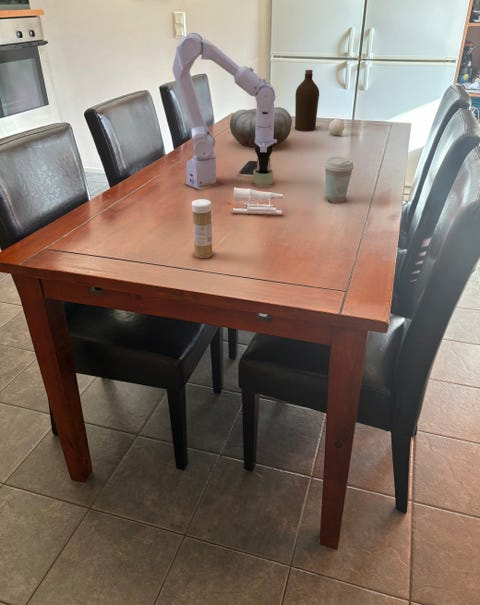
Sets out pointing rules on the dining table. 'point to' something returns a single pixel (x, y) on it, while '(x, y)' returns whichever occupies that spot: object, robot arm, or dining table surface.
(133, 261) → the dining table surface
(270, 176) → the cup
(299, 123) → the olive oil
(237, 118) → the gourd
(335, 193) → the coffee cup
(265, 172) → the rectangular block
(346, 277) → the dining table surface
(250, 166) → the phone
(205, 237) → the sprinkles bottle
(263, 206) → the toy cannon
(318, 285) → the dining table surface
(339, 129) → the baseball
